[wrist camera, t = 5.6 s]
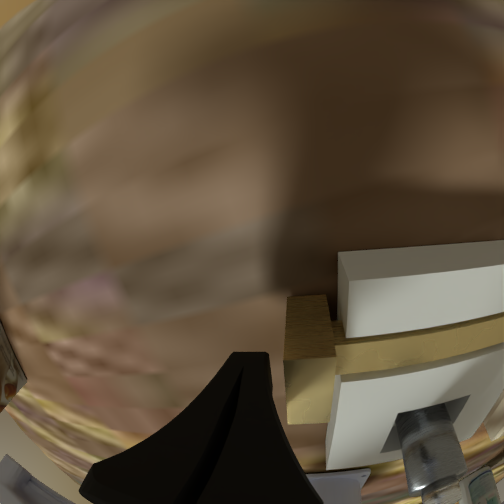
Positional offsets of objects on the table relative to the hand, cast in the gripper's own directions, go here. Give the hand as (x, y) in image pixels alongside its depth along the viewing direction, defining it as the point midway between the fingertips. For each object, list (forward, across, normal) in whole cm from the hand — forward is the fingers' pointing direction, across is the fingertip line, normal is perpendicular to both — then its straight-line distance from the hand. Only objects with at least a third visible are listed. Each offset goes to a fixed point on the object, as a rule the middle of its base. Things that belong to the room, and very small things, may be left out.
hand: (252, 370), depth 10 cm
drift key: (+2, -7, 0) cm, 7 cm away
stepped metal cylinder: (+2, -9, +6) cm, 11 cm away
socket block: (+3, -9, +3) cm, 10 cm away
